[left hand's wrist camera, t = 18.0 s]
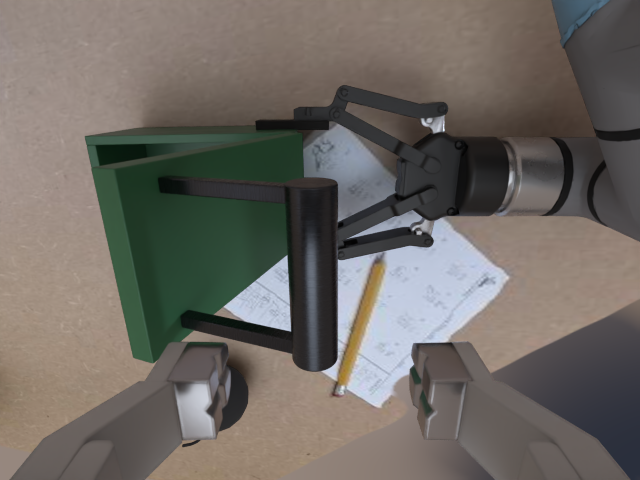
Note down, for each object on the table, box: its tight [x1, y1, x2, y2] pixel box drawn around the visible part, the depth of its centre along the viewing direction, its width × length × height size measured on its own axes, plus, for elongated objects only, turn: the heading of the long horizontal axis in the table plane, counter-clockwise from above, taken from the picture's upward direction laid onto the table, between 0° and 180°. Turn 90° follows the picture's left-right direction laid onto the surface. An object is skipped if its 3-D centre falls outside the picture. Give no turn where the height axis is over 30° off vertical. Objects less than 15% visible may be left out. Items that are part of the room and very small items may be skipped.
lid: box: [92, 133, 338, 372], centre depth 23 cm, size 18×9×9 cm
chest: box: [85, 126, 297, 168], centre depth 37 cm, size 17×9×11 cm, turn 91°
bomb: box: [182, 366, 248, 447], centre depth 46 cm, size 8×8×12 cm
